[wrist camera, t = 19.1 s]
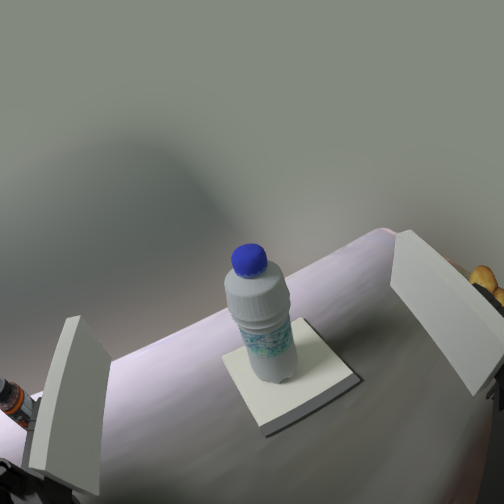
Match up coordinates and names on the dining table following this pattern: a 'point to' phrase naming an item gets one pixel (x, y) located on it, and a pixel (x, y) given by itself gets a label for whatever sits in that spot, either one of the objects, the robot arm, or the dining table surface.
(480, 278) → the bread roll
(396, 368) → the dining table surface
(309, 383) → the mat
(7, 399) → the supplement bottle
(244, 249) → the bottle
